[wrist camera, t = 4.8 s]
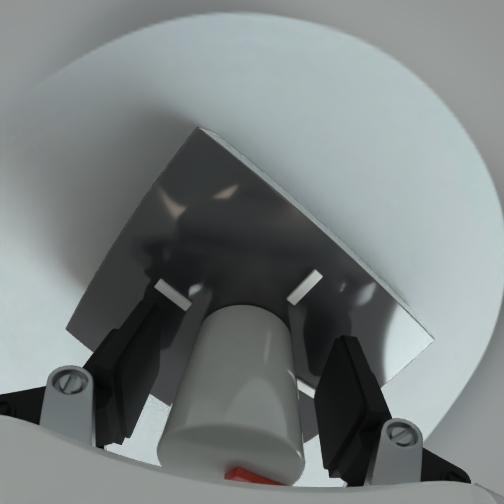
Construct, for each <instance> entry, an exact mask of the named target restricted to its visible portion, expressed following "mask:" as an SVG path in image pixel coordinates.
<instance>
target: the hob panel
mask: <svg viewBox="0 0 504 504" xmlns="http://www.w3.org/2000/svg"><path fill="white" fill-rule="evenodd" d="M141 300H147V301H151V302H155V303H157V307H160V308H162V320H161V344H160V369H159V373H158V376H157V378H156V380H155V382H154V385H153V387H152V389H151V391H150V394H151V395H153V396H154V397H156V398H157V399H159V400H160V401H162V402H163V403H165V404H166V405H168V406H170V407H171V404H172V401H173V398H174V395H175V392H176V390H177V387H178V384H179V381H180V378H181V375H182V373H183V370H184V367H185V364H186V361H187V359H188V356H189V353H190V350H191V347H192V345H193V342H194V339H195V336H196V334H197V331H198V329H199V327H200V325H201V324H202V322H203V321H204V320H205V319H206V318H207V317H208V316H209V315H211V314H212V313H214V312H215V311H217V310H219V309H222V308H225V307H228V306H233V305H251V306H256V307H259V308H262V309H265V310H267V311H269V312H271V313H273V314H274V315H276V316H277V317H278V318H279V319H281V320H282V322H283V323H284V324H285V325H286V326H287V328H288V329H289V332H290V334H291V337H292V340H293V348H294V357H295V366H296V375H297V384H298V393H299V403H300V413H301V423H302V433H303V444H304V443H306V442H307V441H309V440H310V439H312V438H313V437H315V436H316V435H318V434H319V432H318V425H317V418H316V411H315V405H314V394H315V390H316V388H317V385H318V383H319V380H320V378H321V375H322V372H323V370H324V367H325V364H326V362H327V359H328V356H329V353H330V351H331V348H332V345H333V342H334V340H335V339H336V338H340V336H341V335H347V336H355V337H357V338H358V340H359V343H360V345H361V348H362V350H363V352H364V355H365V357H366V359H367V362H368V364H369V367H370V369H371V371H372V373H374V375H375V377H376V379H377V381H378V384H379V386H380V388H381V387H382V386H384V385H385V384H386V383H387V382H388V381H390V380H391V379H392V378H393V377H394V376H395V375H397V374H398V373H399V372H400V371H401V370H402V369H404V368H405V367H406V366H407V365H408V364H409V363H410V362H411V361H412V360H414V359H415V358H416V357H417V356H418V355H419V354H420V353H421V352H422V351H423V350H424V349H425V348H426V347H427V346H428V345H429V344H431V343H432V342H433V341H434V337H433V336H432V335H431V333H430V332H429V331H428V330H427V328H426V327H425V326H424V324H423V323H422V322H421V321H420V319H419V318H418V317H417V316H416V314H415V313H414V312H413V311H412V309H411V308H410V307H409V306H408V305H407V304H406V303H405V302H404V301H403V300H402V299H401V298H400V297H399V296H398V295H397V294H396V293H395V292H394V291H393V290H392V289H391V288H390V287H389V286H388V285H387V284H386V283H385V282H384V281H383V280H382V279H381V278H380V277H379V276H378V275H377V274H376V273H375V272H374V271H373V270H372V269H371V268H370V267H369V266H368V265H367V264H366V263H364V262H363V261H362V260H361V259H360V258H359V257H358V256H357V255H356V254H355V253H354V252H353V251H352V250H351V249H350V248H349V247H347V246H346V245H345V244H344V243H343V242H342V241H341V240H340V239H339V238H338V237H337V236H336V235H334V234H333V233H332V232H331V231H330V230H329V229H328V228H327V227H326V226H325V225H323V224H322V223H321V222H320V221H319V220H318V219H317V218H316V217H315V216H313V215H312V214H311V213H310V212H309V211H308V210H307V209H306V208H304V207H303V206H302V205H301V204H300V203H299V202H298V201H296V200H295V199H294V198H293V197H292V196H291V195H289V194H288V193H287V192H286V191H285V190H284V189H282V188H281V187H280V186H279V185H278V184H277V183H275V182H274V181H273V180H272V179H271V178H270V177H268V176H267V175H266V174H265V173H264V172H262V171H261V170H260V169H259V168H258V167H256V166H255V165H254V164H253V163H251V162H250V161H249V160H248V159H247V158H245V157H244V156H243V155H242V154H240V153H239V152H238V151H237V150H236V149H234V148H233V147H232V146H231V145H229V144H228V143H227V142H226V141H224V140H223V139H222V138H220V137H219V136H218V135H217V134H215V133H214V132H212V131H209V130H205V129H202V128H199V127H197V128H196V129H195V130H194V131H193V133H192V134H191V135H190V137H189V138H188V139H187V140H186V142H185V143H184V144H183V145H182V147H181V148H180V149H179V151H178V152H177V153H176V155H175V156H174V157H173V159H172V160H171V161H170V163H169V164H168V165H167V167H166V168H165V169H164V171H163V172H162V173H161V175H160V176H159V177H158V179H157V180H156V182H155V183H154V184H153V186H152V187H151V189H150V190H149V192H148V193H147V194H146V196H145V197H144V199H143V200H142V202H141V203H140V204H139V206H138V207H137V209H136V210H135V212H134V213H133V215H132V216H131V218H130V219H129V221H128V222H127V224H126V225H125V227H124V229H123V230H122V232H121V233H120V235H119V236H118V238H117V239H116V241H115V243H114V244H113V246H112V247H111V249H110V251H109V252H108V254H107V256H106V257H105V259H104V260H103V262H102V264H101V265H100V267H99V269H98V271H97V272H96V274H95V276H94V277H93V279H92V281H91V283H90V284H89V286H88V288H87V290H86V291H85V293H84V295H83V297H82V299H81V300H80V302H79V304H78V306H77V308H76V310H75V311H74V313H73V315H72V317H71V319H70V321H69V323H68V325H67V327H66V330H67V331H68V332H69V333H70V334H72V335H73V336H74V337H75V338H76V339H78V340H79V341H80V342H81V343H82V344H84V345H85V346H86V347H87V348H88V349H90V350H91V351H92V352H93V353H94V352H95V350H96V349H97V348H98V346H99V345H100V344H101V342H102V341H103V340H104V339H105V337H106V336H107V335H108V333H109V332H110V331H111V330H112V329H114V328H115V329H119V328H120V327H121V325H122V324H123V323H124V321H125V320H126V319H127V318H128V316H129V315H130V314H131V312H132V311H133V310H134V308H135V307H136V306H137V305H138V303H139V302H140V301H141Z"/></svg>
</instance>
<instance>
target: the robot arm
mask: <svg viewBox="0 0 504 504" xmlns="http://www.w3.org/2000/svg"><path fill="white" fill-rule="evenodd" d="M161 320H162V308H160V307H157V303H155V302H151V301H147V300H141V301H140V302H139V303H138V305H137V306H136V307H135V308H134V310H133V311H132V312H131V314H130V315H129V316H128V318H127V319H126V320H125V321H124V323H123V324H122V325H121V327H120V328H119V329H115V328H114V329H112V330H111V331H110V332H109V333H108V335H107V336H106V337H105V339H104V340H103V341H102V342H101V344H100V345H99V346H98V348H97V349H96V350H95V352H94V353H93V354H92V355H91V357H90V358H89V359H88V361H87V362H86V363H85V365H84V366H83V367H82V368H81V367H79V366H73V365H71V366H63V367H59V368H57V369H55V370H54V371H53V372H52V373H51V374H50V375H49V377H48V380H47V384H46V386H44V387H39V388H34V389H29V390H23V391H18V392H12V393H7V394H1V395H0V504H504V497H503V496H501V495H498V494H496V493H495V492H493V491H491V490H489V489H486V488H484V487H482V486H480V485H479V484H477V483H475V484H474V485H473V484H471V480H470V478H469V476H468V475H467V473H466V472H465V471H463V470H462V469H461V468H459V467H457V466H455V465H453V464H451V463H449V462H448V461H446V460H444V459H442V458H440V457H439V456H437V455H435V454H433V453H432V452H430V451H428V450H426V449H425V448H423V447H422V446H423V437H422V433H421V431H420V430H419V428H418V427H417V426H416V425H415V424H413V423H412V422H410V421H407V420H405V419H400V418H395V419H392V416H391V414H390V411H389V409H388V406H387V404H386V401H385V399H384V396H383V394H382V391H381V389H380V386H379V384H378V381H377V379H376V377H375V375H374V373H372V371H371V369H370V367H369V364H368V362H367V359H366V357H365V355H364V352H363V350H362V348H361V345H360V343H359V340H358V338H357V337H355V336H347V335H341V336H340V338H336V339H335V340H334V342H333V345H332V348H331V351H330V353H329V356H328V359H327V362H326V364H325V367H324V370H323V372H322V375H321V378H320V380H319V383H318V385H317V388H316V390H315V394H314V405H315V411H316V418H317V425H318V432H319V439H320V446H321V453H322V460H323V467H324V469H328V472H329V478H341V479H342V480H343V481H345V482H344V485H343V487H295V486H278V485H266V484H256V483H247V482H239V481H232V480H225V479H219V478H213V477H207V476H201V475H196V474H191V473H186V472H182V471H177V470H173V469H168V468H164V467H160V466H156V465H152V464H149V463H145V462H141V461H138V460H134V459H131V458H128V457H125V456H121V455H118V454H115V453H112V452H109V451H106V445H109V444H112V443H117V444H120V445H122V443H123V441H124V439H125V437H126V438H130V437H131V435H132V433H133V430H134V428H135V426H136V423H137V421H138V419H139V416H140V414H141V412H142V410H143V407H144V405H145V403H146V400H147V398H148V396H149V394H150V391H151V389H152V387H153V385H154V382H155V380H156V378H157V376H158V373H159V369H160V344H161Z"/></svg>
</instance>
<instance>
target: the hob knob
mask: <svg viewBox="0 0 504 504" xmlns="http://www.w3.org/2000/svg"><path fill="white" fill-rule="evenodd" d="M157 456H158V460H159V462H160V465H161V466H162V467H164V468H168V469H173V470H177V471H182V472H186V473H191V474H196V475H201V476H207V477H213V478H219V479H225V480H232V481H239V482H247V483H256V484H266V485H278V486H292V485H293V484H294V483H295V482H296V481H297V480H298V479H299V478H300V477H301V475H302V473H303V471H304V468H305V455H304V444H303V433H302V423H301V413H300V403H299V393H298V384H297V375H296V366H295V357H294V348H293V340H292V337H291V334H290V332H289V329H288V328H287V326H286V325H285V324H284V323H283V322H282V320H281V319H279V318H278V317H277V316H276V315H274V314H273V313H271V312H269V311H267V310H265V309H262V308H259V307H256V306H251V305H233V306H228V307H225V308H222V309H219V310H217V311H215V312H214V313H212V314H211V315H209V316H208V317H207V318H206V319H205V320H204V321H203V322H202V324H201V325H200V327H199V329H198V331H197V334H196V336H195V339H194V342H193V345H192V347H191V350H190V353H189V356H188V359H187V361H186V364H185V367H184V370H183V373H182V375H181V378H180V381H179V384H178V387H177V390H176V392H175V395H174V398H173V401H172V404H171V407H170V410H169V412H168V415H167V418H166V421H165V424H164V427H163V430H162V433H161V436H160V439H159V442H158V445H157Z"/></svg>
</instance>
